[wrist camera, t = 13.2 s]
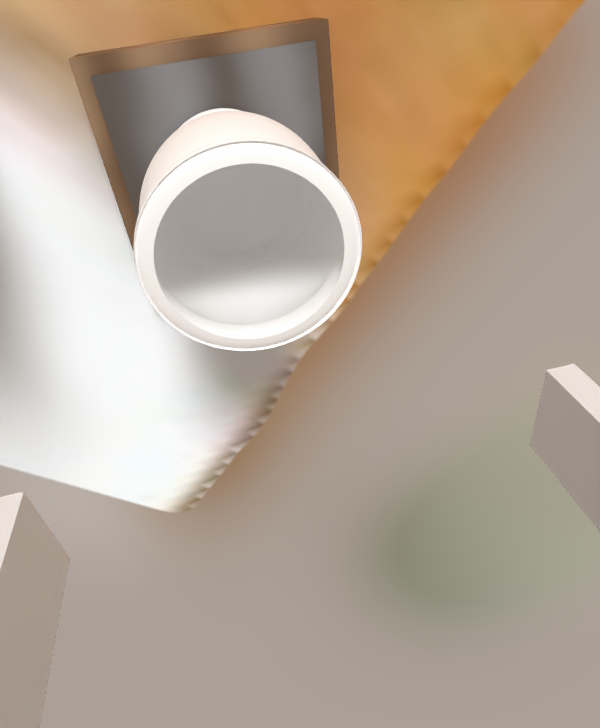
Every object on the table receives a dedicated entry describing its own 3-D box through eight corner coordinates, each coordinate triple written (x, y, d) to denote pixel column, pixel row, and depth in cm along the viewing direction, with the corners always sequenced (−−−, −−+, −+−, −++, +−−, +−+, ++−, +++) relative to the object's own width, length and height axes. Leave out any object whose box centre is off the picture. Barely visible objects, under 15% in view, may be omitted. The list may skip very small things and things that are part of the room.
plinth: (150, 274, 43) (147, 296, 39) (78, 54, 33) (67, 59, 30) (333, 238, 44) (345, 257, 41) (315, 17, 34) (329, 19, 31)
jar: (294, 79, 33) (362, 124, 21) (306, 232, 39) (363, 334, 27) (128, 100, 32) (99, 158, 20) (167, 253, 38) (163, 370, 26)
